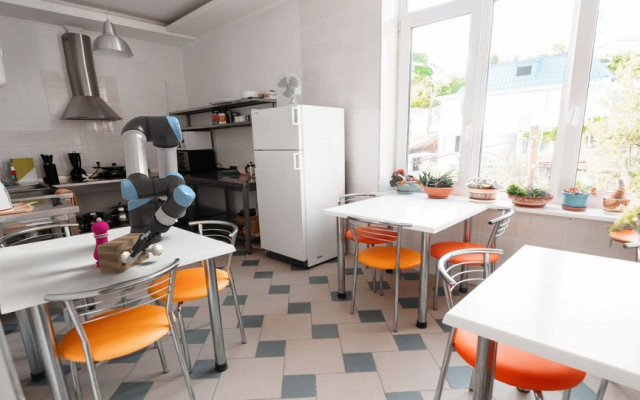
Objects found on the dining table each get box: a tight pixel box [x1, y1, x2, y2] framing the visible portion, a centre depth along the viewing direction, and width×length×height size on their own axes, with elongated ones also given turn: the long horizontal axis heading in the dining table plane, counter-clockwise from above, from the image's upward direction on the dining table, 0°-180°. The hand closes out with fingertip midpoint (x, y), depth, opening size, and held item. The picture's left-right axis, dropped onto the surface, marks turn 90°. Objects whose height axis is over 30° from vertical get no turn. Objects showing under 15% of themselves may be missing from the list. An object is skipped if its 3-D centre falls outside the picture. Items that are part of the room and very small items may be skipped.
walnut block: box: [97, 232, 150, 275], centre depth 133 cm, size 18×8×11 cm, turn 174°
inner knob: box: [142, 244, 164, 257], centre depth 136 cm, size 5×8×5 cm, turn 84°
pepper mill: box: [90, 217, 110, 268], centre depth 133 cm, size 7×7×20 cm
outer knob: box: [120, 251, 130, 263], centre depth 128 cm, size 5×8×5 cm, turn 84°
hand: (129, 261), depth 128 cm, fingers closed
